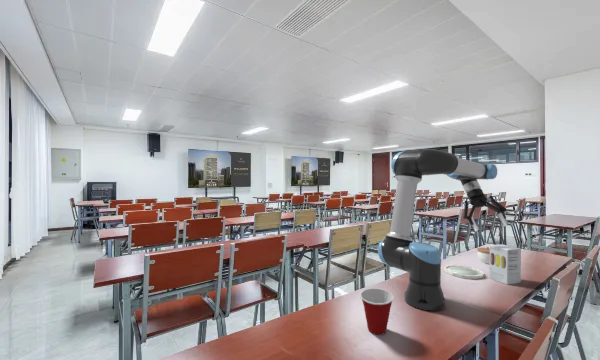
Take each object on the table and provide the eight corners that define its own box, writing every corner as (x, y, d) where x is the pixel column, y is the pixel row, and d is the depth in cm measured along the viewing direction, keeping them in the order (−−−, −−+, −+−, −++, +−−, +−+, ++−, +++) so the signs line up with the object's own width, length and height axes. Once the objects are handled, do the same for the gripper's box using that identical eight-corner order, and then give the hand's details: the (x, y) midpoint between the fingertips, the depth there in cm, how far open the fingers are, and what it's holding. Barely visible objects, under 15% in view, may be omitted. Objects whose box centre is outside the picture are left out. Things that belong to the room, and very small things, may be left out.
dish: (463, 280, 136) (464, 277, 136) (436, 269, 153) (436, 266, 153) (492, 277, 141) (492, 274, 141) (462, 266, 158) (462, 263, 158)
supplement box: (488, 278, 140) (488, 245, 140) (501, 276, 143) (501, 243, 143) (507, 285, 131) (507, 249, 131) (521, 282, 134) (521, 248, 133)
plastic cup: (353, 330, 91) (353, 294, 91) (370, 318, 99) (370, 285, 99) (383, 344, 84) (383, 304, 84) (399, 330, 91) (399, 294, 91)
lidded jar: (498, 266, 158) (498, 250, 158) (476, 263, 165) (476, 247, 165) (498, 262, 167) (498, 246, 167) (477, 259, 173) (477, 244, 173)
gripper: (495, 189, 151) (514, 225, 141) (448, 198, 154) (463, 234, 144) (501, 183, 144) (521, 221, 134) (451, 193, 148) (467, 230, 138)
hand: (491, 228), depth 139 cm, fingers open, 13 cm apart
